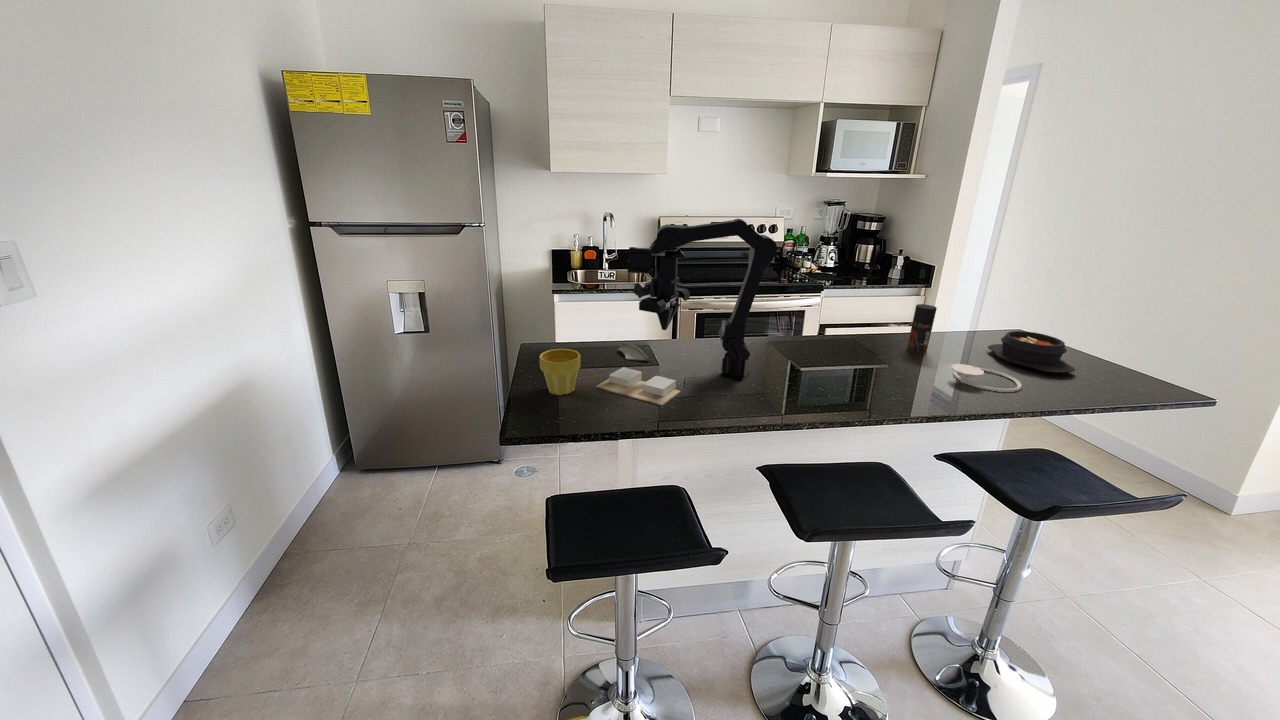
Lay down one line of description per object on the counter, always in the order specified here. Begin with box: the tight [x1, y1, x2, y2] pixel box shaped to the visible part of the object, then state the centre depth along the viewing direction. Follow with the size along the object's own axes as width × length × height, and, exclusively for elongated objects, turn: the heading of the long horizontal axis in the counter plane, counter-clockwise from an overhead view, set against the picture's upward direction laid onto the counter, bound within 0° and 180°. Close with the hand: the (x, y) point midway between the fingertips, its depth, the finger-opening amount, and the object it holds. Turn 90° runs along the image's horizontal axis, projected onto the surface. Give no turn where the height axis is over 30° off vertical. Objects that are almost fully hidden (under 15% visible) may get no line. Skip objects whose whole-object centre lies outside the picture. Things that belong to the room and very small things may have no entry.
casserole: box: [987, 330, 1076, 374], centre depth 167 cm, size 25×19×8 cm
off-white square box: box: [643, 375, 677, 396], centre depth 140 cm, size 6×2×7 cm
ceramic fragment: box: [617, 342, 651, 363], centre depth 164 cm, size 14×5×4 cm, turn 39°
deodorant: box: [906, 303, 938, 355], centre depth 174 cm, size 6×6×15 cm
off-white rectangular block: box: [608, 366, 643, 387], centre depth 145 cm, size 6×2×7 cm
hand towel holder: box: [951, 363, 1023, 393], centre depth 153 cm, size 17×4×21 cm
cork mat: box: [595, 378, 681, 407], centre depth 141 cm, size 20×10×1 cm, turn 59°
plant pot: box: [539, 348, 581, 396], centre depth 138 cm, size 10×10×10 cm
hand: (664, 329), depth 148 cm, fingers closed
